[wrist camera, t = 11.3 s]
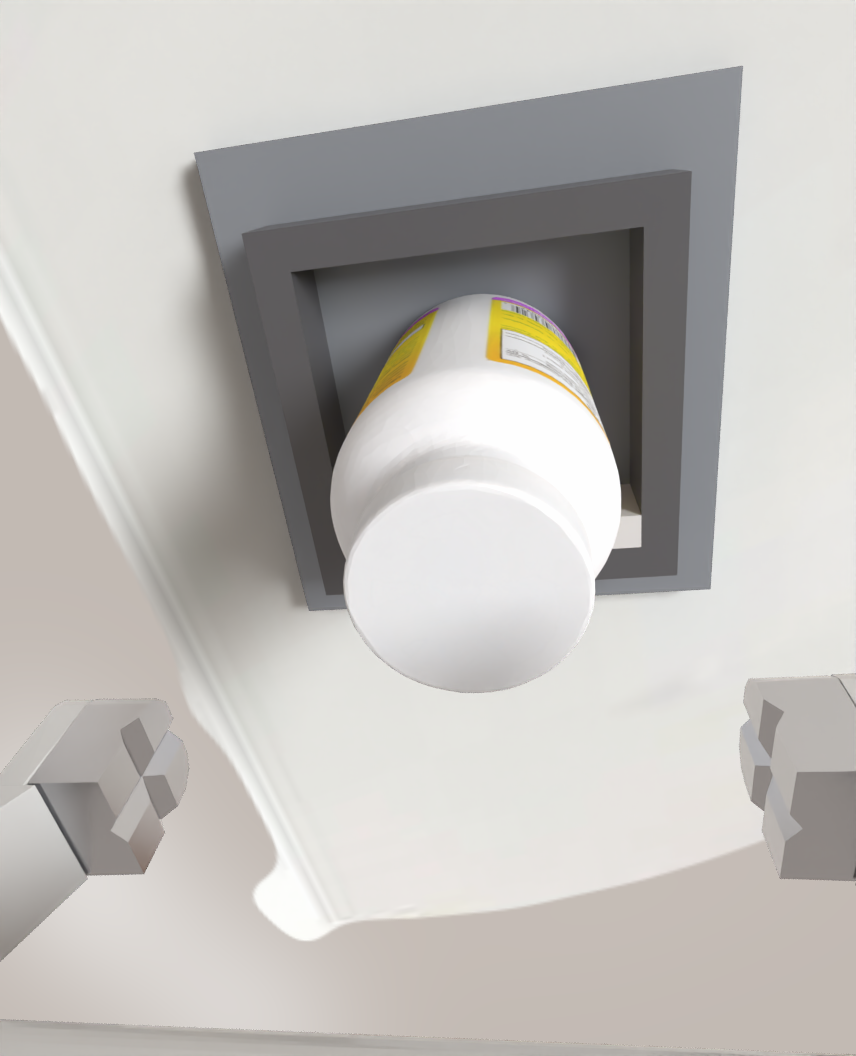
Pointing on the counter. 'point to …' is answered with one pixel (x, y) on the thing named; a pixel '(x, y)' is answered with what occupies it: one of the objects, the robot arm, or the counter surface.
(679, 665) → the counter surface
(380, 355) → the pocket plate
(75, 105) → the counter surface
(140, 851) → the robot arm
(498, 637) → the supplement bottle
